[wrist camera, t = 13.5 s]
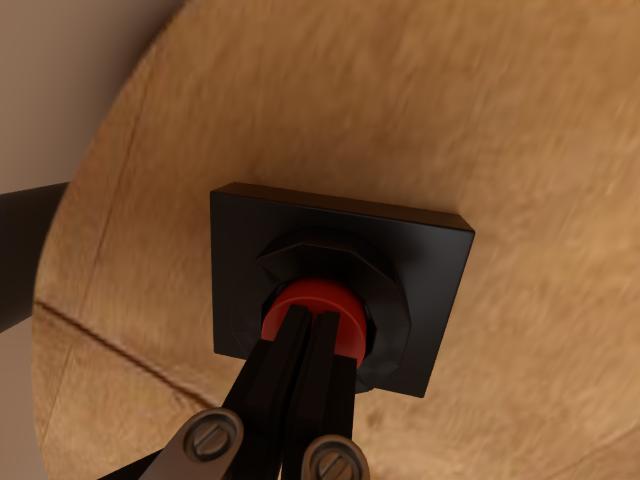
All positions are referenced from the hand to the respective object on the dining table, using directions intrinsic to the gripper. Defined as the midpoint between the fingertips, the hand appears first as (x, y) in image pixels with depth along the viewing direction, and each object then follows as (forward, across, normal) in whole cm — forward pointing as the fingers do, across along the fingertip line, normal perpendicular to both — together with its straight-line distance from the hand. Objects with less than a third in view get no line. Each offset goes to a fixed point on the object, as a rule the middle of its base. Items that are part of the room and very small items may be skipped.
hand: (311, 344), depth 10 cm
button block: (+5, 0, 0) cm, 5 cm away
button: (+2, 0, 0) cm, 2 cm away
